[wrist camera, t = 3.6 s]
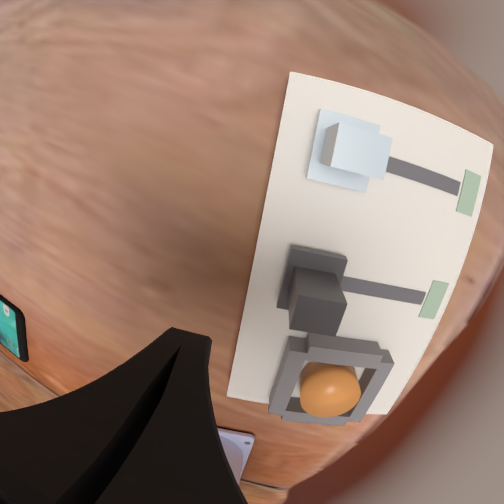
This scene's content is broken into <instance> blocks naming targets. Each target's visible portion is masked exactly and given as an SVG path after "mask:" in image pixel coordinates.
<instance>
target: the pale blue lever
mask: <svg viewBox="0 0 504 504" xmlns="http://www.w3.org/2000/svg"><path fill="white" fill-rule="evenodd" d="M379 131H380V125H377V124H374V123H371V122H368V121H364V120H361V119H358V118H354V117H350V116H347V115H343V114H339V113H336V112H332V111H328V110H324V109H320V110H319V113H318V118H317V123H316V128H315V133H314V138H313V143H312V148H311V153H310V158H309V163H308V168H307V173H306V178H307V179H312V180H316V181H321V182H325V183H329V184H333V185H337V186H341V187H345V188H349V189H353V190H357V191H361V192H365V193H366V191H367V187H368V183H369V178H370V177H372V178H375V179H379V180H382V181H384V177H385V173H386V168H387V163H388V159H389V154H390V149H391V144H392V139H393V138H391V137H388V136H385V135H382V134H379Z"/></svg>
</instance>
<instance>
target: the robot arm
mask: <svg viewBox="0 0 504 504" xmlns="http://www.w3.org/2000/svg"><path fill="white" fill-rule="evenodd" d="M211 344H212V340H211V338H210V337H208V336H204V335H200V334H196V333H192V332H188V331H184V330H180V329H176V328H173V327H171V328H170V329H168V330H167V331H165V332H164V333H163V334H162V335H161V336H159V337H158V338H157V339H156V340H154V341H153V342H152V343H151V344H149V345H148V346H147V347H145V348H144V349H143V350H141V351H140V352H139V353H137V354H136V355H134V356H133V357H132V358H130V359H129V360H127V361H126V362H125V363H123V364H121V365H120V366H118V367H117V368H115V369H114V370H112V371H110V372H109V373H107V374H106V375H104V376H102V377H100V378H99V379H97V380H95V381H93V382H91V383H89V384H87V385H85V386H83V387H81V388H79V389H77V390H75V391H72V392H70V393H67V394H65V395H63V396H60V397H57V398H55V399H52V400H49V401H47V402H43V403H40V404H36V405H33V406H29V407H25V408H21V409H17V410H12V411H7V412H0V504H248V503H247V501H246V499H245V497H244V495H243V494H242V492H241V490H240V488H239V484H240V477H241V475H242V472H243V469H244V467H245V464H246V462H247V459H248V456H249V454H250V451H251V448H252V446H253V443H254V439H255V437H254V436H253V435H252V434H247V433H241V432H236V431H231V430H226V429H221V428H217V425H216V421H215V417H214V412H213V407H212V401H211V395H210V386H209V374H208V364H209V357H210V351H211Z"/></svg>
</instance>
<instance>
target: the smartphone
mask: <svg viewBox="0 0 504 504" xmlns="http://www.w3.org/2000/svg"><path fill="white" fill-rule="evenodd" d="M0 344H2V345H3V346H4V347H5V348H6V349H8V350H9V351H10V352H11V353H12V354H14V355H15V356H16V357H18V358H19V359H20V360H21V361H23V362H27V361H28V360H29V358H28V349H27V339H26V327H25V317H24V315H23V313H22V312H21V310H20V309H19V308H17V307H16V306H15V305H13V304H12V303H11V302H9V301H8V300H7V299H6V298H4V297H3V296H2V295H1V294H0Z"/></svg>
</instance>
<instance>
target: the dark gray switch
mask: <svg viewBox="0 0 504 504" xmlns="http://www.w3.org/2000/svg"><path fill="white" fill-rule="evenodd" d="M347 262H348V260H347V258H346V256H343V255H339V254H334V253H329V252H324V251H319V250H315V249H310V248H305V247H300V246H295V245H290V249H289V253H288V258H287V262H286V266H285V270H284V274H283V279H282V283H281V287H280V291H279V295H278V299H277V307H276V308H280V309H285V310H288V312H289V329H291V330H297V331H302V332H308V333H314V334H321V335H327V336H334V337H336V334H337V331H338V329H339V326H340V324H341V321H342V318H343V315H344V313H345V310H346V307H347V301H346V299H345V296H344V294H343V291H342V289H341V286H340V284H341V281H342V278H343V275H344V272H345V268H346V265H347Z"/></svg>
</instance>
